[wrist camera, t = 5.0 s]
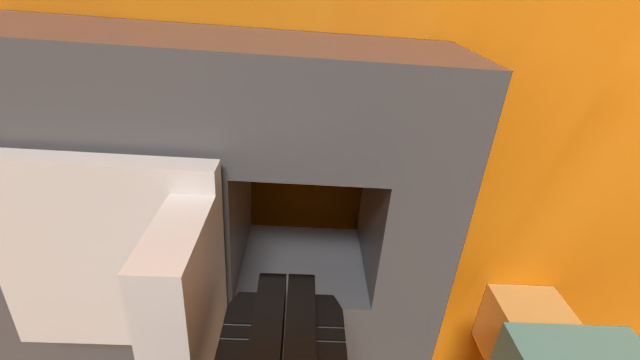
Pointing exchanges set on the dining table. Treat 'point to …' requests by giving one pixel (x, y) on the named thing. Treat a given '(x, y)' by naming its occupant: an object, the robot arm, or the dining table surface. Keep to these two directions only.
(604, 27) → the dining table surface
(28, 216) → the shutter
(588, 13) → the dining table surface
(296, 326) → the robot arm
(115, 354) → the socket
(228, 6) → the dining table surface
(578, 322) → the plug
